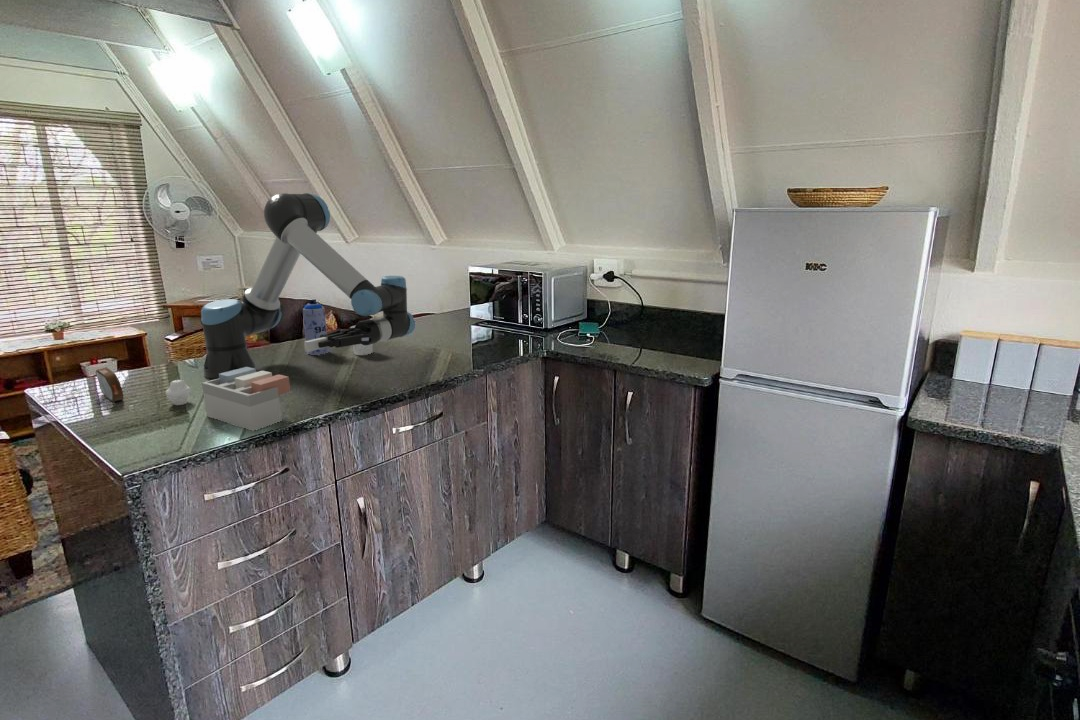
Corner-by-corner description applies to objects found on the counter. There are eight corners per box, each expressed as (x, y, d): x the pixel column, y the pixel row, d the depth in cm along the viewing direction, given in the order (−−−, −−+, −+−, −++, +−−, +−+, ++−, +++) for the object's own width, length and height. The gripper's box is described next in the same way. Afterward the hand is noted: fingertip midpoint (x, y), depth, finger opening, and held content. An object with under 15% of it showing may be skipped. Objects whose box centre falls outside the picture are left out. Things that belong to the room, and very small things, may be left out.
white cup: (368, 356, 213) (366, 329, 211) (348, 355, 215) (345, 328, 212) (378, 351, 221) (376, 325, 218) (358, 350, 222) (356, 324, 219)
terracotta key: (252, 397, 149) (250, 382, 148) (280, 388, 155) (279, 374, 154) (262, 400, 147) (260, 384, 146) (290, 391, 153) (288, 376, 152)
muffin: (197, 399, 167) (193, 376, 165) (184, 407, 161) (180, 383, 160) (176, 399, 168) (172, 376, 166) (162, 407, 162) (158, 382, 160)
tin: (126, 402, 165) (120, 374, 163) (112, 405, 163) (106, 376, 161) (111, 391, 175) (105, 364, 173) (98, 394, 173) (92, 366, 170)
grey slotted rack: (207, 416, 155) (201, 382, 152) (235, 407, 161) (231, 375, 159) (253, 431, 145) (248, 395, 142) (281, 421, 151) (277, 387, 149)
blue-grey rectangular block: (220, 388, 156) (218, 373, 155) (248, 380, 162) (246, 366, 161) (229, 390, 154) (227, 376, 153) (257, 382, 160) (255, 368, 159)
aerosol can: (314, 356, 213) (308, 302, 207) (302, 353, 217) (296, 300, 212) (333, 352, 219) (328, 299, 213) (321, 349, 223) (316, 297, 218)
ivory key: (236, 392, 152) (234, 378, 151) (264, 384, 159) (262, 370, 158) (245, 395, 150) (243, 380, 149) (273, 387, 157) (271, 372, 156)
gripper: (388, 346, 176) (323, 364, 157) (358, 339, 183) (292, 356, 163) (387, 322, 174) (321, 336, 155) (356, 316, 181) (289, 329, 161)
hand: (306, 346), depth 159 cm, fingers closed
